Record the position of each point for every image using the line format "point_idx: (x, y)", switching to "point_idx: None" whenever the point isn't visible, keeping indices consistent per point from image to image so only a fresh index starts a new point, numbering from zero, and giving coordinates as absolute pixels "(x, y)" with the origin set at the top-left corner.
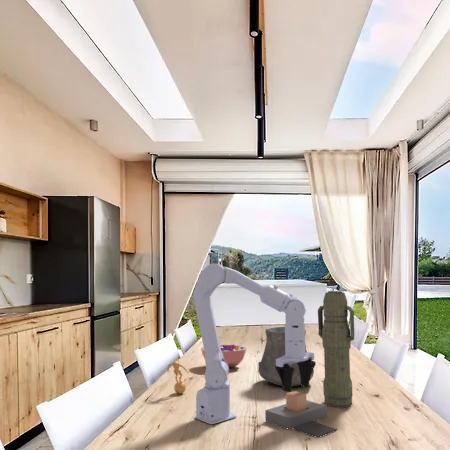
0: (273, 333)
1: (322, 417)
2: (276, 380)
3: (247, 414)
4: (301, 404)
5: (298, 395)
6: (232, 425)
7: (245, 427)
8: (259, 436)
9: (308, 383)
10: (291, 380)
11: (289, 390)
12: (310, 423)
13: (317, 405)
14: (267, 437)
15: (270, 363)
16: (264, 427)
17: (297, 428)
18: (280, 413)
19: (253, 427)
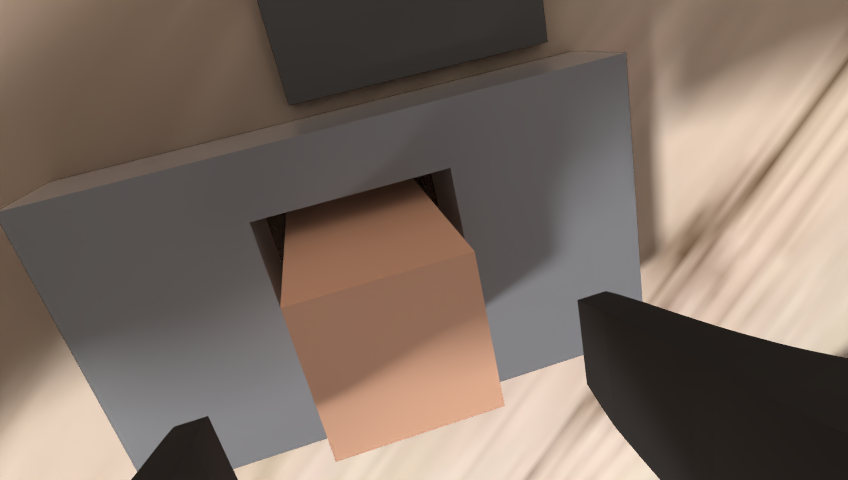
0: None
1: (122, 165)
2: None
3: (606, 450)
4: (371, 234)
5: (425, 283)
6: (798, 309)
7: (768, 247)
8: (817, 54)
9: (162, 455)
10: (710, 360)
11: (622, 296)
12: (348, 63)
13: (108, 266)
14: (794, 5)
15: None
16: (680, 192)
17: (531, 12)
18: (604, 209)
19: (733, 225)
